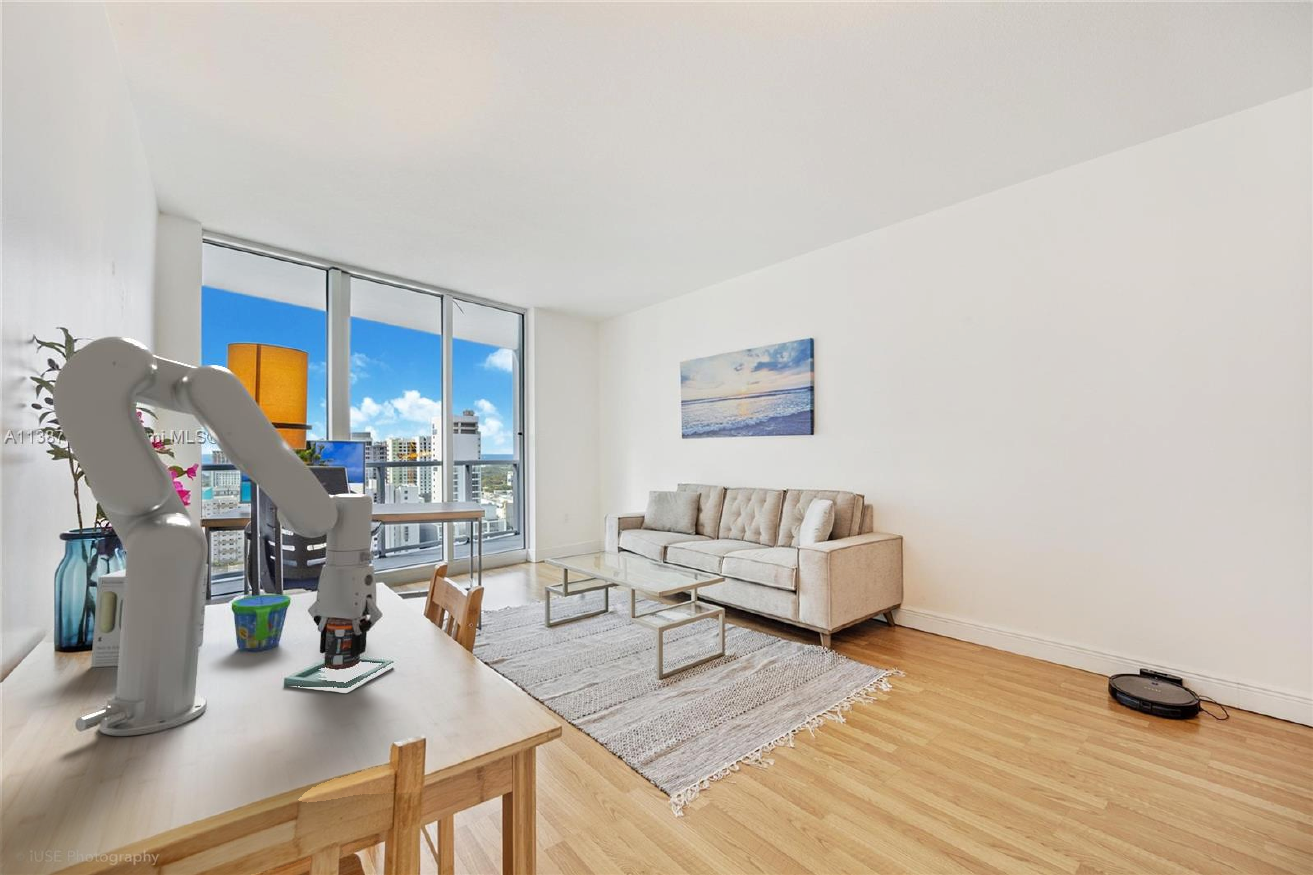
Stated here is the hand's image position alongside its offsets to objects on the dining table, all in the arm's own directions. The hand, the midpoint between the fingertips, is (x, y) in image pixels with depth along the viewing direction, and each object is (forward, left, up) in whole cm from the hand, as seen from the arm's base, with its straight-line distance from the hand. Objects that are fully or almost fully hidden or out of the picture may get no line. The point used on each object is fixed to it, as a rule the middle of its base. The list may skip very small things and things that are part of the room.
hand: (342, 651), depth 107 cm
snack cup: (+10, +29, -5) cm, 31 cm away
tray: (0, 0, -5) cm, 5 cm away
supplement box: (0, +45, -5) cm, 45 cm away
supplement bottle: (0, 0, -3) cm, 3 cm away
